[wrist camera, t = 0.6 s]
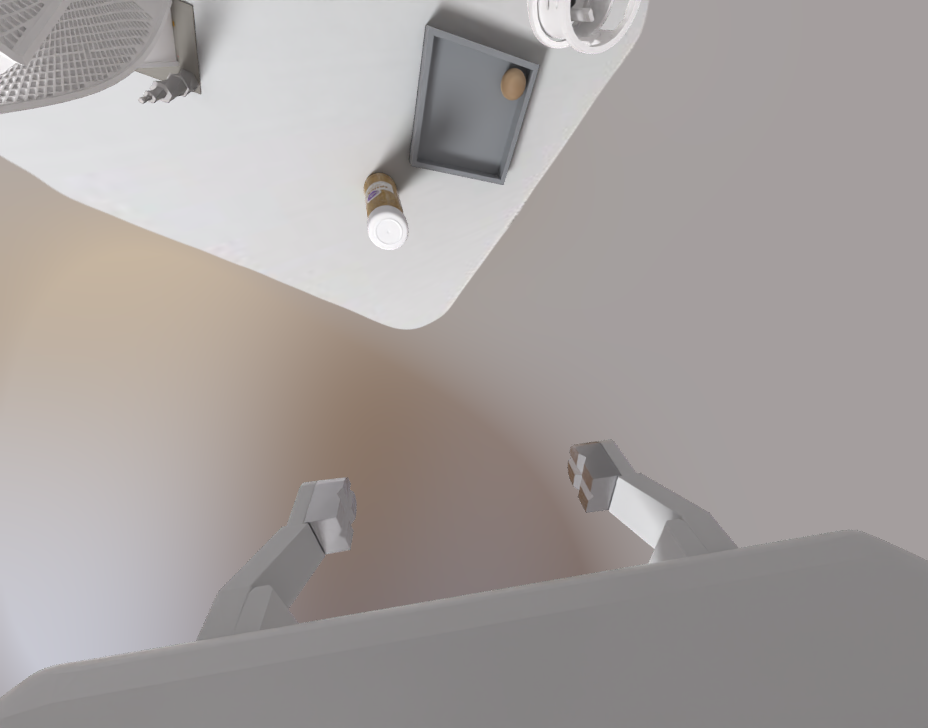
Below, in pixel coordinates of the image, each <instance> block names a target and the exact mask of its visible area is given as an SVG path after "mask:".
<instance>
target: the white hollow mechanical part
mask: <svg viewBox="0 0 928 728" xmlns="http://www.w3.org/2000/svg"><path fill="white" fill-rule="evenodd" d="M613 1H614V0H527V9H528V14H529V21H530V25H531V28H532V30H533V33H534V34H535V36H536V38H537V39H538V40H539V41H540V42H541V43H542V44H544V45H545V46H548V47H552V48H565V47H568V46H571V47H572V48H573V49H575V50H576V51H578V52H581V53H587V54H598V53H601V52H604V51H606V50H608V49H609V48H611V47H612V46H614V45H615V44H616V43H617V42H618V41H619V40H620V39H621V38H622V37H623V35H624V34H625V33H626V31H627V30H628V29H629V27H630V25H631V24H632V22H633V20H634V18H635V16H636V14H637V11H638V9H639V6H640V3H641V0H629V2H628V5H627V8H626V11H625V13H624V15H625V16H624V19H623V20H622V21H621V22H620V23H619V24H618V26H617V27H616V29H615V30H600V28H601V27H602V25H603V24H604V22H605V21H606V19H607V17H608V15H609V13H610V10H611V8H612V5H613ZM571 21H574V23H573V24H572V23H571ZM544 33H545V34H546V35H548V36H550V37H553V38H560V39H564V40H561V41H553V40H551V39H549V38H548V37H547V36H546V35H545V34H544ZM585 44H587V45H588V46H587V45H585ZM589 45H593V46H589Z"/></svg>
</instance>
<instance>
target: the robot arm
mask: <svg viewBox="0 0 928 728" xmlns="http://www.w3.org/2000/svg"><path fill="white" fill-rule="evenodd" d="M569 453H570V455H571V458H570V459H569V460H568V467H567V468H568V474H569V478H570V481H571V482H572V485H573V487H575V488H576V489H578V490H579V494H578V498H579V500H580V502H581V504H582V506H583V508H584V510H585V512H586V513H587V512H595V511H603V510H609V512H611V513H612V514H613V515H614V516H616V517H617V518H618V519H619V520H620V521H621V522H623V523H624V524H625V525H626V526H627V527H629V528H630V529H631V530H632V531H633V532H635V533H636V534H637V535H638V536H639V537H641V538H642V539H643V540H644V541H645V542H647V543H648V544H649V545H650V546H651V547H653V548H654V551H653V554H652V556H651V559H650V561H649V563H648V564H644V565H638V566H633V567H626V568H620V569H615V570H609V571H603V572H597V573H591V574H586V575H580V576H574V577H568V578H562V579H556V580H551V581H545V582H539V583H533V584H527V585H521V586H515V587H509V588H504V589H497V590H492V591H486V592H480V593H475V594H468V595H463V596H457V597H452V598H445V599H439V600H434V601H428V602H422V603H416V604H411V605H404V606H399V607H393V608H387V609H381V610H375V611H370V612H364V613H358V614H352V615H346V616H340V617H335V618H329V619H323V620H317V621H312V622H305V623H300V624H299V623H298V622H297V620H296V619H295V618H294V616H293V615H292V614H291V612H290V611H289V610H288V609H289V608H290V606H291V605H292V603H293V602H294V600H295V599H296V597H297V596H298V595H299V593H300V592H301V590H302V589H303V587H304V586H305V584H306V583H307V582H308V580H309V579H310V577H311V576H312V574H313V573H314V571H315V570H316V569H317V567H318V565H319V564H320V563H321V561H322V560H323V558H324V557H325V554H330V553H335V552H341V551H346V550H350V549H351V543H352V536H353V529H352V526H351V524H352V522H353V521H354V520H355V518H356V498H355V494H354V492H353V491H351V490H350V485H351V483H350V481H349V479H348V478H338V479H330V480H321V481H314V482H305V483H303V484H302V485H301V486H300V488H299V491H298V494H297V497H296V500H295V503H294V506H293V509H292V511H291V514H290V517H289V520H288V523H287V526H284V527H281V528H280V529H279V530H278V532H276V533H275V534H274V535H273V536H272V537H271V539H269V541H268V542H267V543H266V544H265V545H264V546H263V547H262V548H261V549H260V550H259V551H258V552H257V553H256V554H255V555H254V556H253V557H252V558H251V559H250V560H249V561H248V562H247V563H246V564H245V565H244V566H243V567H242V568H241V569H240V570H239V571H238V572H237V573H236V574H235V575H234V576H233V577H232V578H231V579H230V580H229V581H228V582H227V583H226V584H225V585H224V586H223V587H222V588H221V589H220V590H219V592H218V593H217V595H216V598H215V600H214V602H213V604H212V607H211V609H210V611H209V613H208V615H207V618H206V620H205V622H204V625H203V627H202V629H201V631H200V633H199V635H198V638H197V640H196V641H195V642H188V643H183V644H177V645H171V646H165V647H159V648H153V649H147V650H141V651H135V652H130V653H124V654H118V655H112V656H106V657H101V658H94V659H88V660H82V661H76V662H70V663H64V664H59V665H54V666H50V667H47V668H44V669H42V670H39V671H37V672H36V673H34V674H33V675H31V676H29V677H28V678H26V679H25V680H24V681H22V682H21V683H19V684H18V685H17V686H15V687H14V688H12V689H11V690H10V691H9V692H7V693H6V694H5V695H3V696H2V697H1V698H0V728H928V561H927V560H925V559H923V558H921V557H919V556H917V555H915V554H913V553H910V552H908V551H906V550H904V549H902V548H900V547H897V546H895V545H893V544H891V543H889V542H887V541H884V540H882V539H880V538H877V537H875V536H872V535H870V534H867V533H865V532H862V531H858V530H842V531H836V532H830V533H824V534H819V535H813V536H807V537H802V538H795V539H789V540H783V541H778V542H772V543H766V544H761V545H755V546H749V547H743V548H738V547H737V546H736V544H735V543H734V542H733V541H732V540H731V538H730V537H729V536H728V535H727V533H726V532H725V531H724V530H723V529H722V527H721V526H720V525H719V524H718V523H717V521H716V520H715V519H714V518H713V516H712V515H711V514H710V513H709V512H707V511H706V510H704V509H702V508H700V507H699V506H697V505H695V504H694V503H692V502H690V501H688V500H687V499H685V498H683V497H681V496H680V495H678V494H676V493H675V492H673V491H671V490H669V489H668V488H666V487H664V486H662V485H661V484H659V483H657V482H655V481H654V480H652V479H650V478H649V477H647V476H645V475H643V474H642V473H636V472H635V470H634V469H633V467H632V466H631V464H630V463H629V462H628V460H627V459H626V457H625V456H624V455H623V453H622V452H621V451H620V449H619V448H618V446H617V445H616V443H615V442H614V441H613V440H611V439H610V440H603V441H598V442H597V441H596V442H589V443H582V444H576V445H572V446H571V447H570V452H569Z"/></svg>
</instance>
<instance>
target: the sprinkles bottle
mask: <svg viewBox="0 0 928 728" xmlns="http://www.w3.org/2000/svg"><path fill="white" fill-rule="evenodd" d="M364 193H365V202H366V210H367V215H368V220H367V228H368V234H369V237H370V239H371V240H372V242H373V243H374V244H375V245H376V246H378V247H380V248H382V249H386V250H393V249H397V248H399V247H400V246H402V245H403V244H404V243H405V241H406V240H407V237H408V232H409V231H408V224H407V221H406V218H405V216H404V214H403V209H402V206H401V202H400V199H399V195H398V192H397V188H396V184H395V183H394V181H393V179H392V178H391V177H389V176H388V175H386V174H383V173H375V174H372V175H370V176H369V177H368V178H367V180H366V181H365V184H364Z"/></svg>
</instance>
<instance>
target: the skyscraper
mask: <svg viewBox="0 0 928 728" xmlns="http://www.w3.org/2000/svg"><path fill="white" fill-rule="evenodd" d="M134 71H136V72H139V73H142V74H145V75H148V76H150V77H153V78H156V79H159V80H162V81H153V83H152V85H151V87H150V91H145V92H144V94H143V96H144V97H141V98H139V99H138V101H139V102H140V103H142V104H143V103H145V102H147V101H148V102H151V103H155V102H156V101H158V100H160V101H163V102H166V103H169V102H170V101H171V100H173V99H174V98H175V97H177V96H183V97H185V96H186V95H187V94H189V93H190V92H196V93H199V94H201V89H200V78H199V68H198V57H197V47H196V37H195V26H194V16H193V6H191V5H189V4H187V3H184V2H182V1H180V0H0V114H3V113H9V112H15V111H22V110H28V109H34V108H39V107H44V106H49V105H53V104H58V103H63V102H67V101H71V100H75V99H78V98H82V97H85V96H88V95H91V94H94V93H97V92H100V91H102V90H104V89H106V88H109V87H111V86H113V85H115V84H117V83H118V82H120V81H121V80H123V79H125V78H126V77H127V76H129V75H130V74H131V73H132V72H134Z"/></svg>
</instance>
